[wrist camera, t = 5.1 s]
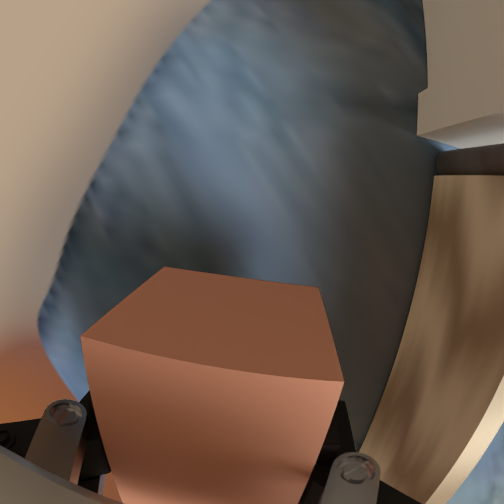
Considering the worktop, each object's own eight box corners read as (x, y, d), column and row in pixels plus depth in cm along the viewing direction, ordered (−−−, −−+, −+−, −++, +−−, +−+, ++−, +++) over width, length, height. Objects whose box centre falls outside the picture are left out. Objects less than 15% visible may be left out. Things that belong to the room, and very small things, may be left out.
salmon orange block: (164, 266, 10) (80, 335, 5) (318, 287, 10) (344, 381, 5) (168, 436, 12) (130, 522, 7) (280, 455, 12) (274, 550, 7)
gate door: (436, 148, 12) (551, 131, 5) (458, 154, 12) (573, 145, 5) (326, 513, 16) (334, 591, 10) (342, 513, 16) (353, 588, 10)
